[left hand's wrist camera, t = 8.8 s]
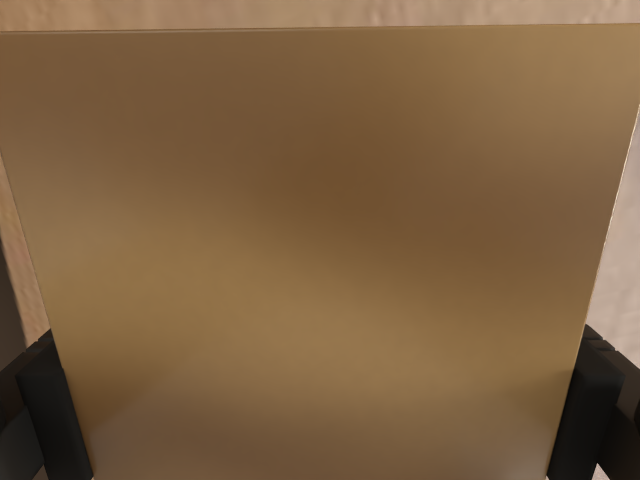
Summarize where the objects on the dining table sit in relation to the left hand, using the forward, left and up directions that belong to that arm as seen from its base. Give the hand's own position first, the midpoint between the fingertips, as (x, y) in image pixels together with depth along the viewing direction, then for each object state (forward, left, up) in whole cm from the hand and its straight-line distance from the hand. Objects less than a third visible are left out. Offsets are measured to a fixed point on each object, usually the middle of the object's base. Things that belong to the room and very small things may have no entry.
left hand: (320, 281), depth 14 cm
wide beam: (+22, +5, -1) cm, 22 cm away
